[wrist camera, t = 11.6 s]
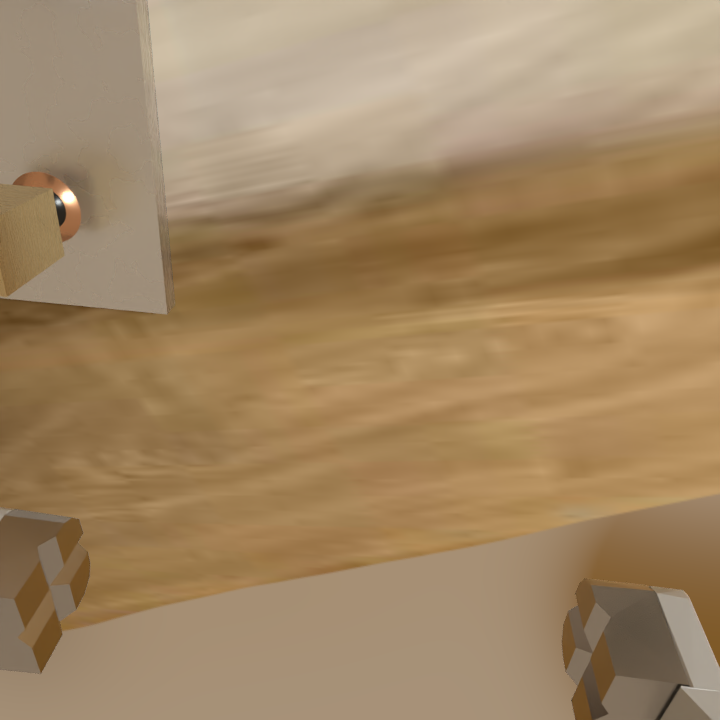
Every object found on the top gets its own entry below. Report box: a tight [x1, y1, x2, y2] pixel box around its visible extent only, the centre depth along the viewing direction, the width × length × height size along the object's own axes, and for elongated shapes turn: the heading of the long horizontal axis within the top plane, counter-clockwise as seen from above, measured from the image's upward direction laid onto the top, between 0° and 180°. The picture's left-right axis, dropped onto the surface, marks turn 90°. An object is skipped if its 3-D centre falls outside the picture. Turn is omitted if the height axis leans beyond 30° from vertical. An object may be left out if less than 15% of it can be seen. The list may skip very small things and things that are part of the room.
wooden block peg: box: [0, 184, 65, 297], centre depth 34 cm, size 4×4×8 cm
